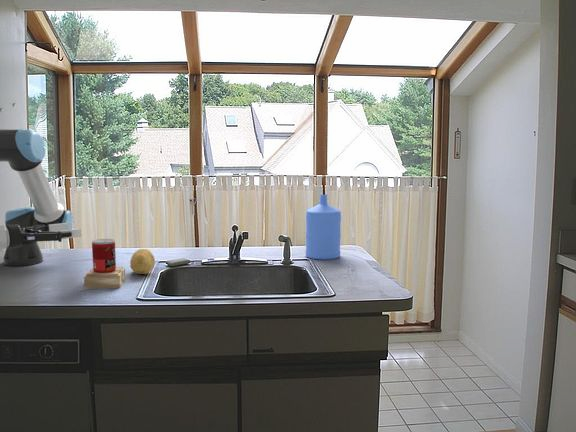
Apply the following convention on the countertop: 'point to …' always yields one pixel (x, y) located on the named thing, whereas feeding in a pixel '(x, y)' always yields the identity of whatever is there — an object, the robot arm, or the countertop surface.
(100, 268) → the canned food
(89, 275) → the plinth
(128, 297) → the countertop surface
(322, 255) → the water jug
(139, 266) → the potato
